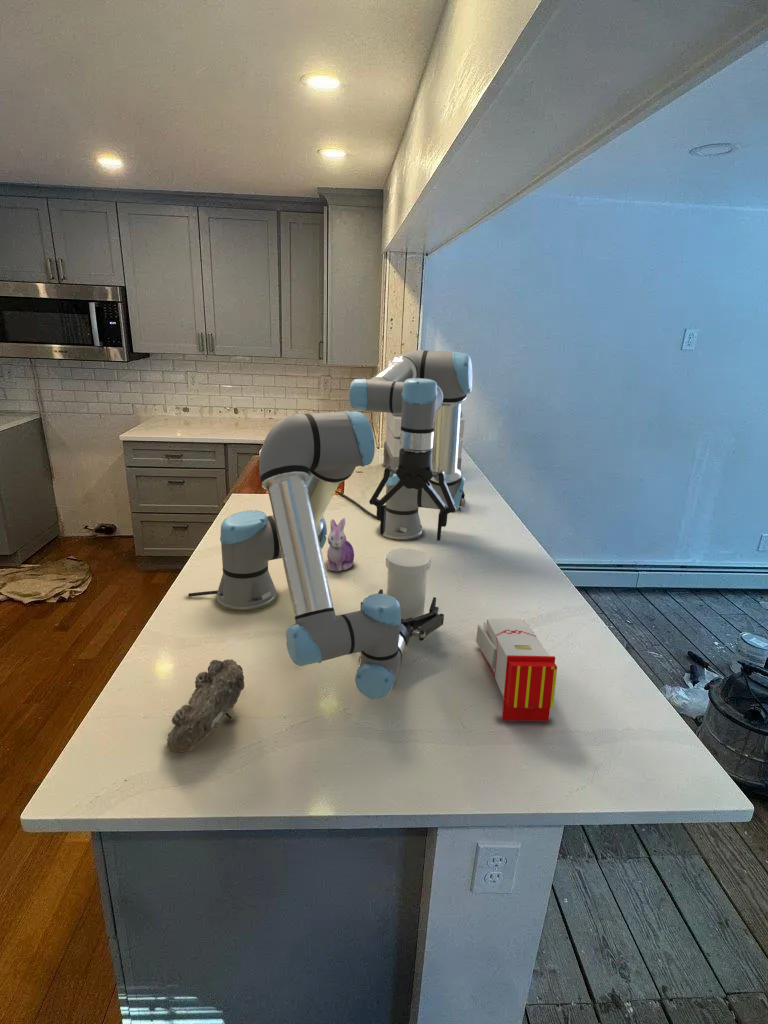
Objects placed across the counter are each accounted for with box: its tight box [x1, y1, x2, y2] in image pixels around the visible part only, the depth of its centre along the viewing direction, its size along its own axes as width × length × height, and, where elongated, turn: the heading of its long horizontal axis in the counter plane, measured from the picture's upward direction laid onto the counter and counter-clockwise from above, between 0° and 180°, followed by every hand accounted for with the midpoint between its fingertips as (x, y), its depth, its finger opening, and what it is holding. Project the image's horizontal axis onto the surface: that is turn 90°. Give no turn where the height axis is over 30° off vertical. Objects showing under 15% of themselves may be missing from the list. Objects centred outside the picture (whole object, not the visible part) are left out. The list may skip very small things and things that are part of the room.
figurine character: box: [457, 490, 466, 511], centre depth 229 cm, size 7×8×15 cm
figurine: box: [326, 517, 355, 572], centre depth 171 cm, size 9×10×15 cm
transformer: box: [383, 411, 465, 473], centre depth 268 cm, size 34×33×41 cm
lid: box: [385, 547, 432, 575], centre depth 138 cm, size 11×11×2 cm
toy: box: [475, 618, 558, 722], centre depth 122 cm, size 12×13×30 cm
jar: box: [386, 568, 428, 624], centre depth 141 cm, size 10×10×18 cm
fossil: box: [166, 658, 245, 754], centre depth 106 cm, size 22×10×15 cm
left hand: (407, 598), depth 142 cm, fingers open, 13 cm apart
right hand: (410, 535), depth 136 cm, fingers open, 13 cm apart
